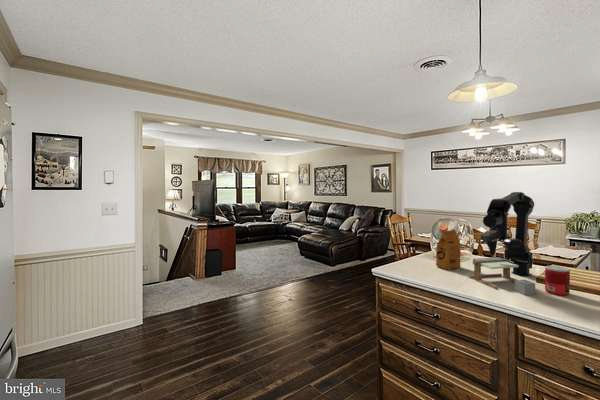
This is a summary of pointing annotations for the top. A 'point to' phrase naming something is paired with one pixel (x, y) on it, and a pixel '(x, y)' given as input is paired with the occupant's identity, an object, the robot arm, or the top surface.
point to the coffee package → (448, 250)
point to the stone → (524, 287)
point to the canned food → (557, 280)
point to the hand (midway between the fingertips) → (500, 257)
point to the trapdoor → (495, 263)
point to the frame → (478, 276)
